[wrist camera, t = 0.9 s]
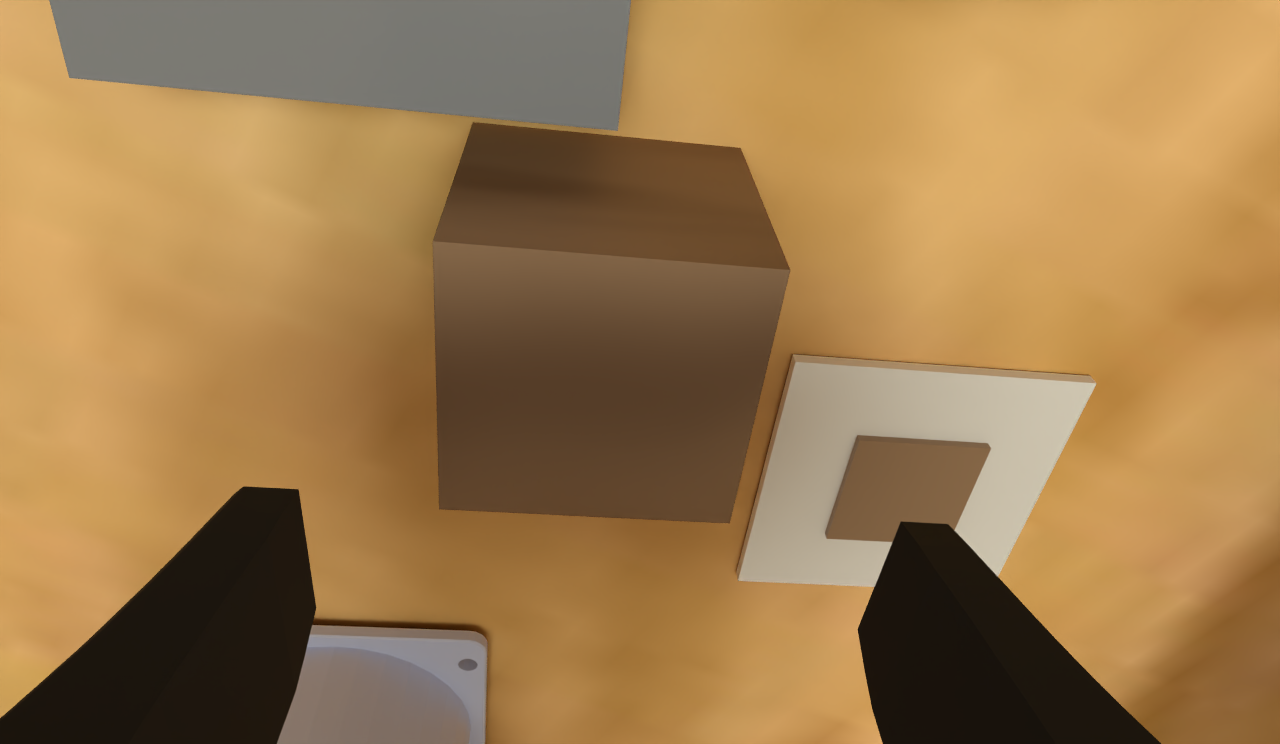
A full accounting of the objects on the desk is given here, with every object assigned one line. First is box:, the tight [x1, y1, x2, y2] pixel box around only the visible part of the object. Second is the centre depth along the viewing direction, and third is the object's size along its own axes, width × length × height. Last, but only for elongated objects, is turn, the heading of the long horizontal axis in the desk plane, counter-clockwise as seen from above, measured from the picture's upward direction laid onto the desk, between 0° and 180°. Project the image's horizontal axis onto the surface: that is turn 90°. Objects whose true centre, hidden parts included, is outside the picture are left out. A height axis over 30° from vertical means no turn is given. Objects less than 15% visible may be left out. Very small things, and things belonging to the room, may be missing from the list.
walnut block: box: [433, 122, 790, 523], centre depth 15 cm, size 5×5×5 cm
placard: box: [737, 354, 1096, 587], centre depth 21 cm, size 7×7×1 cm
